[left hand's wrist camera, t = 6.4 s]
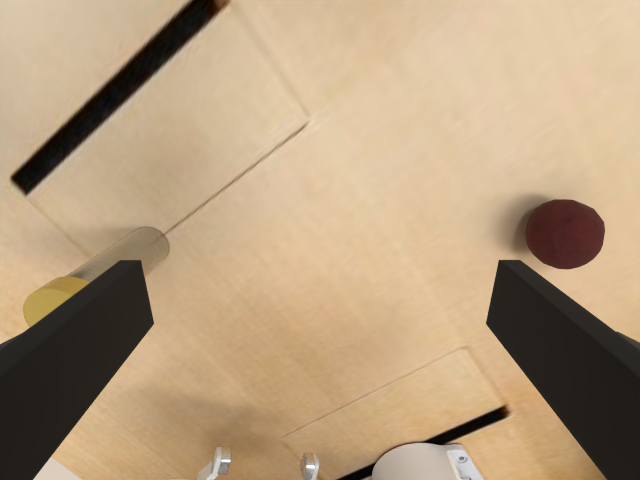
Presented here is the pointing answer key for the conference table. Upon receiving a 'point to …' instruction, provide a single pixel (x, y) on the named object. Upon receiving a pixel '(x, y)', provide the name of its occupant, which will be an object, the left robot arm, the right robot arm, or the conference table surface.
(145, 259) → the bottle
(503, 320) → the left robot arm
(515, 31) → the conference table surface
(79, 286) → the lid
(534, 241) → the dark red ball
